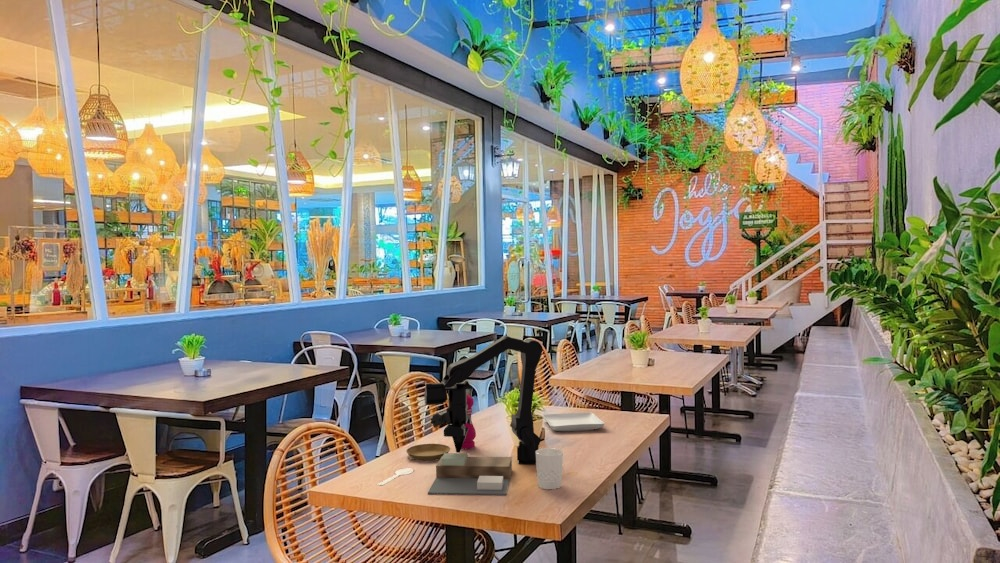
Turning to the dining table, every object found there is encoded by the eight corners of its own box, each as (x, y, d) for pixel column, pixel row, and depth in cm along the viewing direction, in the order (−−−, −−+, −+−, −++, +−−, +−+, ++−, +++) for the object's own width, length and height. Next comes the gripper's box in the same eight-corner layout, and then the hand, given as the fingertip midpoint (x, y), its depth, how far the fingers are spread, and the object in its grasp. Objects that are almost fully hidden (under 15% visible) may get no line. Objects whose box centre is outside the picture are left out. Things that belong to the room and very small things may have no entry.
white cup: (555, 492, 192) (555, 456, 192) (531, 487, 196) (530, 453, 196) (568, 484, 199) (567, 450, 198) (544, 480, 203) (543, 446, 202)
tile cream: (501, 482, 193) (501, 489, 193) (503, 476, 199) (503, 482, 199) (477, 482, 194) (477, 489, 194) (479, 475, 200) (479, 482, 200)
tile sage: (467, 459, 211) (467, 453, 211) (464, 465, 205) (464, 458, 205) (444, 459, 211) (444, 453, 211) (441, 465, 205) (441, 458, 205)
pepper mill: (452, 448, 239) (451, 391, 238) (460, 443, 245) (459, 388, 245) (470, 450, 236) (469, 392, 236) (479, 445, 243) (478, 389, 242)
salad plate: (541, 421, 279) (541, 413, 279) (592, 419, 281) (592, 411, 281) (550, 434, 258) (550, 425, 258) (605, 432, 260) (605, 423, 260)
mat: (509, 480, 203) (509, 478, 203) (505, 495, 190) (505, 493, 190) (436, 479, 205) (436, 477, 205) (427, 494, 192) (427, 492, 192)
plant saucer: (434, 465, 220) (434, 457, 220) (397, 460, 227) (397, 452, 227) (458, 454, 233) (458, 446, 233) (423, 449, 240) (423, 441, 240)
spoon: (370, 485, 201) (370, 483, 201) (403, 468, 218) (403, 466, 218) (386, 487, 199) (386, 485, 199) (418, 470, 215) (418, 468, 215)
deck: (511, 469, 213) (511, 457, 213) (509, 479, 203) (509, 466, 203) (442, 469, 215) (441, 456, 215) (436, 479, 205) (436, 465, 205)
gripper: (437, 397, 226) (438, 444, 227) (426, 409, 208) (427, 460, 208) (471, 397, 225) (471, 444, 226) (463, 409, 207) (464, 460, 207)
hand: (458, 452), depth 217 cm, fingers closed
